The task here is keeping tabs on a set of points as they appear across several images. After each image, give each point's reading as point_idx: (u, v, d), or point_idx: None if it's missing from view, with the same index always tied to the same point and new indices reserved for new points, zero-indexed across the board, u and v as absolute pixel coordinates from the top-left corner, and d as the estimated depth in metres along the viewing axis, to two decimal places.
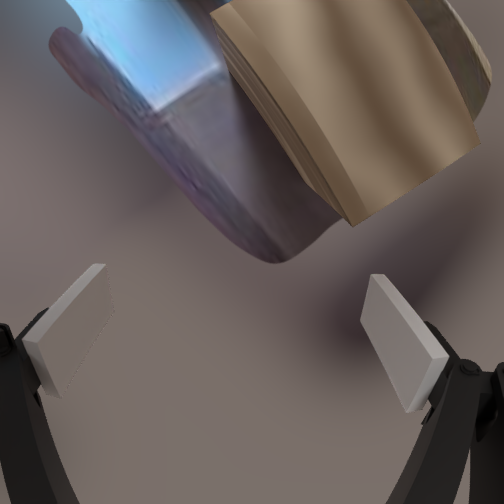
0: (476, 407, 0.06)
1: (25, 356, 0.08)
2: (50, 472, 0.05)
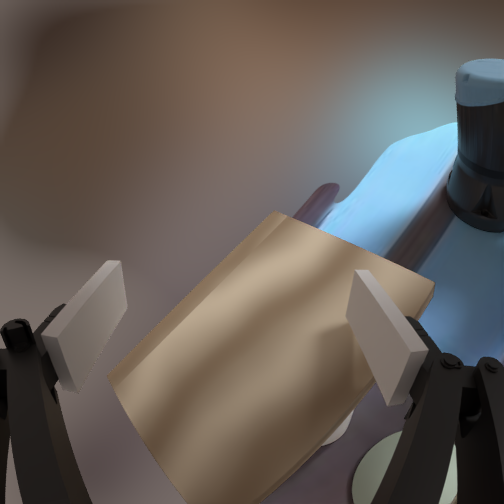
0: (459, 401, 0.07)
1: (44, 351, 0.09)
2: (64, 470, 0.05)
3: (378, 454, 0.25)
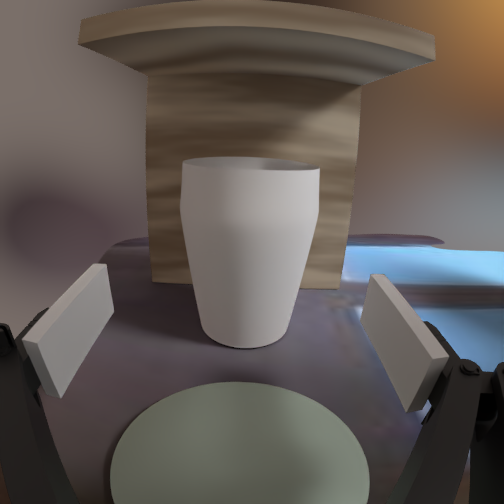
0: (476, 407, 0.06)
1: (25, 356, 0.08)
2: (50, 472, 0.05)
3: (252, 395, 0.16)
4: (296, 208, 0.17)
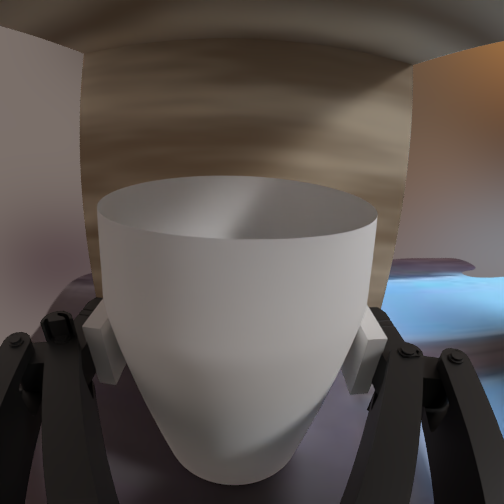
0: (421, 390, 0.07)
1: (84, 343, 0.09)
2: (95, 468, 0.05)
3: None
4: (336, 316, 0.07)
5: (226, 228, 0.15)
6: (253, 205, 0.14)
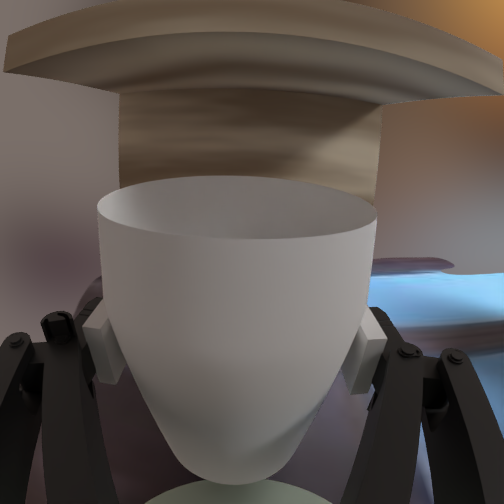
0: (421, 389, 0.07)
1: (84, 343, 0.09)
2: (95, 468, 0.05)
3: (252, 494, 0.12)
4: (336, 316, 0.07)
5: (226, 228, 0.15)
6: (253, 205, 0.14)
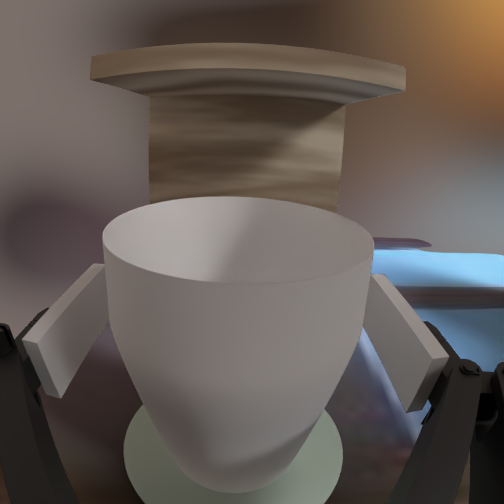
0: (476, 407, 0.06)
1: (25, 356, 0.08)
2: (50, 472, 0.05)
3: None
4: (331, 346, 0.08)
5: (227, 247, 0.15)
6: (254, 225, 0.15)
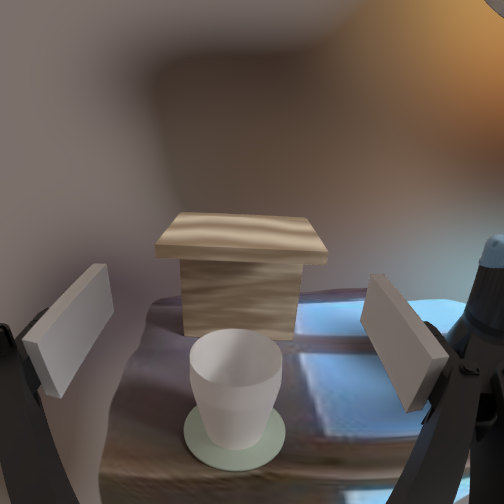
0: (476, 407, 0.06)
1: (25, 356, 0.08)
2: (50, 472, 0.05)
3: None
4: (262, 398, 0.26)
5: (231, 346, 0.33)
6: (243, 339, 0.33)
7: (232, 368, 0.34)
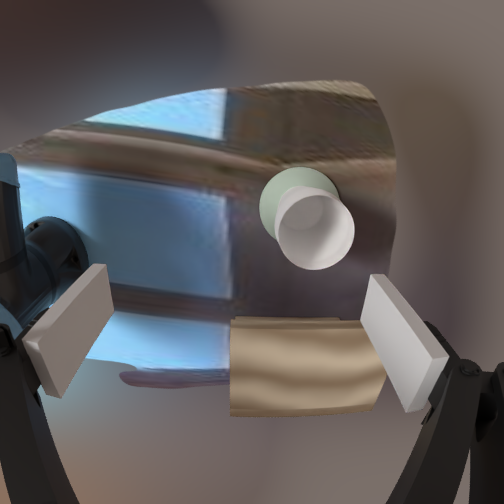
0: (476, 407, 0.06)
1: (25, 356, 0.08)
2: (50, 472, 0.05)
3: None
4: (295, 195, 0.34)
5: (313, 262, 0.38)
6: (305, 264, 0.37)
7: (308, 250, 0.41)
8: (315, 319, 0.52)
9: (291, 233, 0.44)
